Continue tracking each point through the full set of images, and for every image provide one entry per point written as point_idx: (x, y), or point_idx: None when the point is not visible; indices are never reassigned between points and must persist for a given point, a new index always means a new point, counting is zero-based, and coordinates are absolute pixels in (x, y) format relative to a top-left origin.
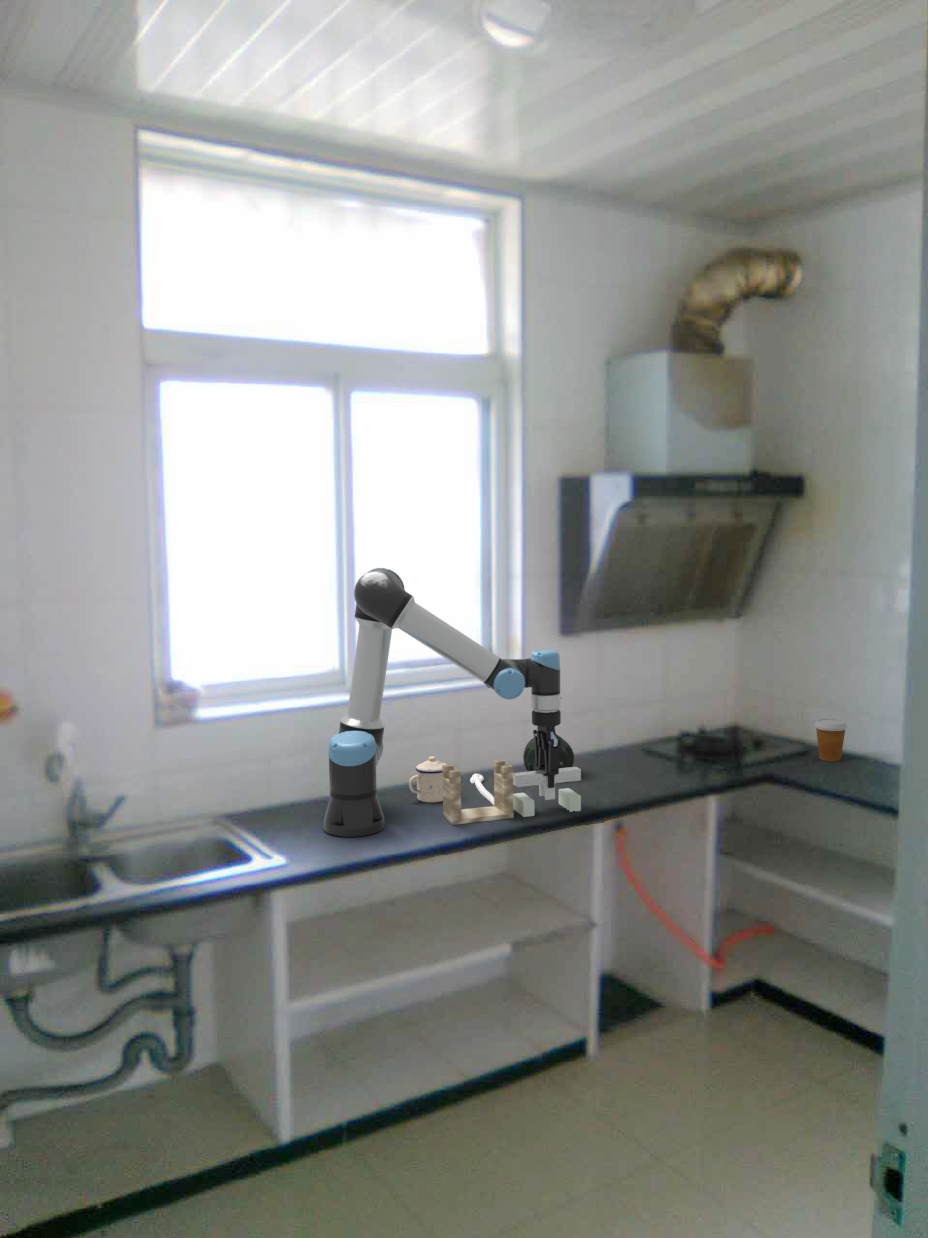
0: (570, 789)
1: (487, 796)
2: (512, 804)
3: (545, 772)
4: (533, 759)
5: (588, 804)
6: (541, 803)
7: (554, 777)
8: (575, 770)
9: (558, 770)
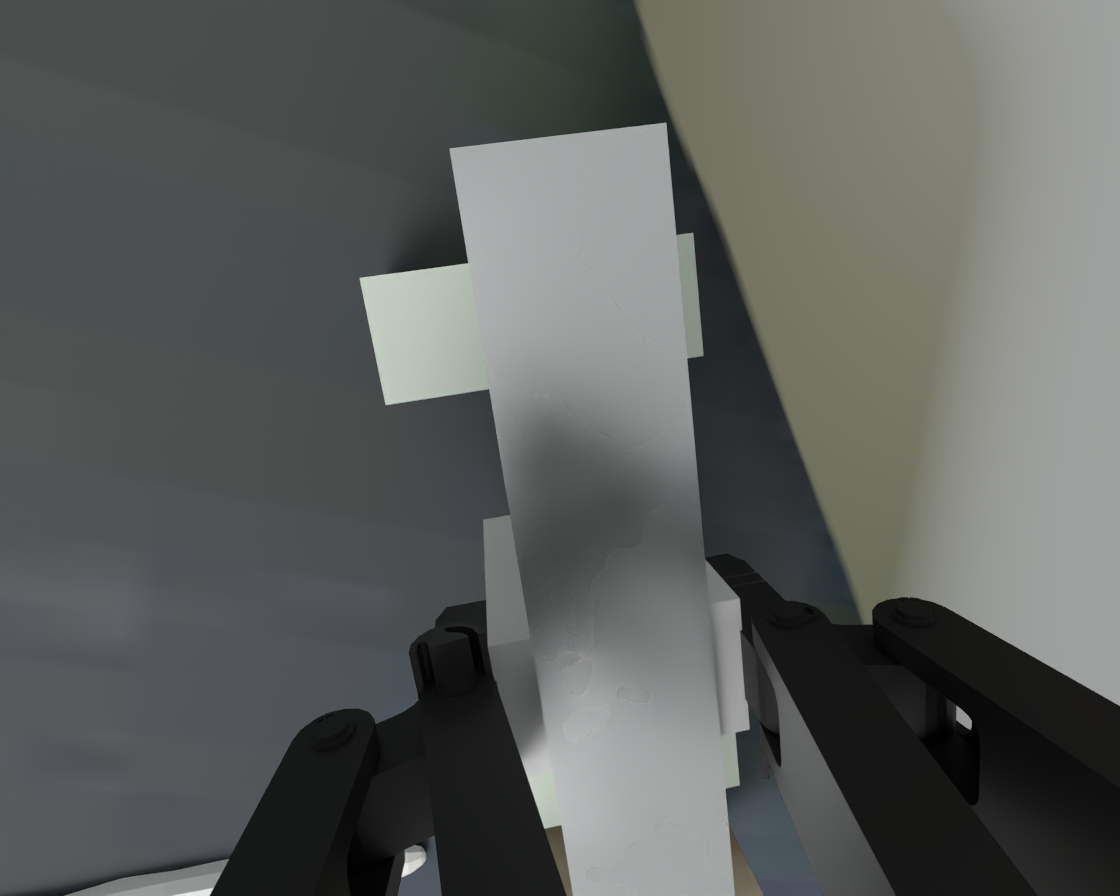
0: (422, 275)
1: None
2: (740, 856)
3: (695, 737)
4: None
5: (467, 110)
6: (367, 524)
7: (724, 587)
8: (671, 239)
9: (981, 631)
